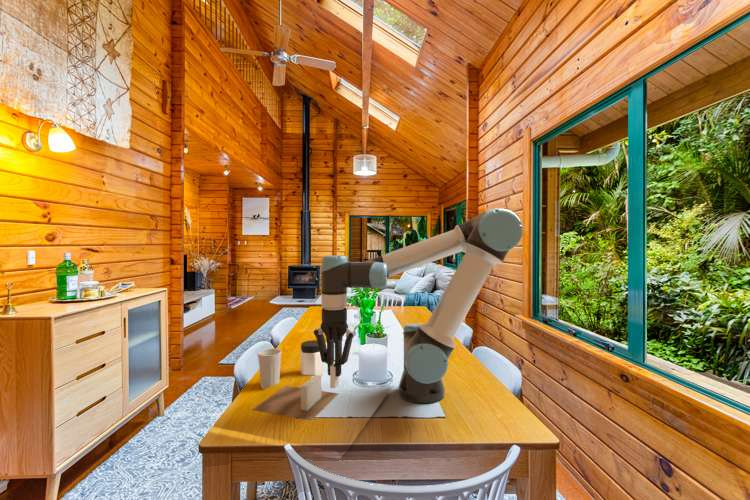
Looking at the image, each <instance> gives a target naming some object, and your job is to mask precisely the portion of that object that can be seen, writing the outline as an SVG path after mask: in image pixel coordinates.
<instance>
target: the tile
mask: <svg viewBox="0 0 750 500" xmlns="http://www.w3.org/2000/svg"><path fill="white" fill-rule="evenodd" d="M300 388H301V410H306V411H307V410H308V409H309V408H311V407H312V406H313V405H314V404H315V403H316V402H317V401H318V400H319V399H320V398H321V391H322V376H319V375H315V376H311V378H310V379H308V380H307V381H305V382H304V383H303V384H301V385H300Z"/></svg>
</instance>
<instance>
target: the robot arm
mask: <svg viewBox="0 0 750 500" xmlns="http://www.w3.org/2000/svg"><path fill="white" fill-rule="evenodd" d="M523 233H524V231H523V225H522V222H521V220H520V217H518V215H517V214H516V213H514V212H513V211H512V210H509V209H506V208H496V207H495V208H491V209H489V210H487V211H484V212H482V213H479V214H476V215H475V216H474V217H472V218H470V219H467V220H466V221H464V222H461V223H459V224H457V225H455V227H454V229H451V230H449V231H448V230H447V231H446V232H443V233H440V234H437V235H435V236H432V237H430V238H426V239H423V240H421V241H418V242H415V243H412V244H409V245H407V246H404V247H401V248H399V249H396V250H393V251H391V252H388V253H387V252H386V253H384V254H382V255H380V256H377V257H373V258H369V259H366V260H364V261H363V262H360V261H359V262H353V261H352V262H351V261H348V259H347V258H348V257H347V256H346V255H325V256H323V257H322V259H321V269H320V274H321V275H320V276H321V277H320V280H321V299H320V300H321V303H320V304H321V324H320V327H319V328H318V327H317V328H316V329H315V330H313V334H314V336H315V338H316V341H317V342H318V347H319V352H320V356H321V361H322V362H324V363H325V364H326V365H327V376H329V377H330V379H329V381H330V384H329V388H331V389H336V388H337V387H338V386H339V382H340V379H339V377H340V376H341V375H342V365H343V366H344V365H345V364H346V363H347V362H348V360H349V356H350V351H351V347H352V342H353V339H354V337H355V336H356V332H355V331H352V330H351V329H349V325H348V308H346V307H347V306H348V297H347V296H348V295H347V293H348V291H347V290H348V288H351V289H352V288H353V289H354V288H358V289H359V288H360V289H363V288H364V289H379V288H380V289H383V288H386V287H387V286H388V278H389V277H393V276H396V275H399V274H402V273H404V272H407V271H409V270H412V269H416V268H419V267H421V266H424V265H427V264H429V263H433V262H435V261H439V260H442V259H444V258H447V257H451V256H453V255H456V254H458V253H461V252H462V253H464V255H463V257H462V258H461V261H460V262H459V264H458V266H457V268H456V270H455V272H454V274H453V275H452V277H451V278H450V281H449V282H448V284H447V286H446V288H445V289H444V292H443V293H442V295H441V297H440V299H439V301H438V303H437V304H436V306H435V308H434V309H433V311H432V313H431V315H430V317H429V318H428V321H427V322H425V323H407V324H405V325H404V326H403V331H402V334H403V371H402V374H401V377H400V379H399V383H398V395H399V396H400V397H401V398H402V399H404V400H406V401H408V402H412V403H416V404H417V403H418V404H431V403H432V404H433V403H436V402H440V401H441V400H442V399H443V398H444V397H445V393H446V390H445V386H444V384H445V383H444V382H443V377H444V376H445V375H446V374H447V370H448V367H449V358H450V357H451V355H452V353H453V351H454V349H455V347H456V343H455V339H454V338H455V336H456V334H457V332H458V331H459V329H460V327H461V325H462V324H463V322H464V321H465V318H466V316H467V314H468V313H469V311H470V309H471V307H472V306H473V304H474V302H475V300H476V299H477V297H478V295H479V293H480V292H481V289H482V287H483V286H484V285H485V283H486V281H487V279H488V277H489V275H490V273H491V271H492V270H493V268H494V266H497V265H499V264H503V261H504V260H505V259H506V256H507V254H508V253H509V251H510V250H513V249H514V248H515V247H516V246H517V245H518V244H519V243H520V241H521V240H522V237H523ZM344 335H345V337H346V338H345V341H344V346H343V344H342V343H343V337H344ZM342 348H343V349H342Z"/></svg>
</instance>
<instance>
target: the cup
mask: <svg viewBox="0 0 750 500" xmlns="http://www.w3.org/2000/svg"><path fill="white" fill-rule="evenodd" d="M257 358H258V359H257V360H258V365H259V377H260V378H259V379H260V388H261V389H262V390H267V389H268V388H270V387H271V386H272V387H273V386H276V385H278V384H279V383H280V379H281V377H280V376H281V375H280V374H281V361H282V350H281V349H279V348H265V349H261V350H259V351H258V352H257Z"/></svg>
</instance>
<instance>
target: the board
mask: <svg viewBox="0 0 750 500" xmlns="http://www.w3.org/2000/svg"><path fill="white" fill-rule="evenodd" d="M338 395H339V393H338V392H337V393H336V392H330V391H325V390H324V391H323V390H321V398H320V399H319V400H318V401H317V402H316V403H315V404H314V405H313V406H312V407H311V408H309V409H308V410H307V411H306V410H301V387H296V386H290V385H285V386H284V387H282V388H281V389H278V391H276V392H274V393H273V394H272V395H271V396H269V397H268V398H266V399H264V401H262V402H260V403H259V404H257V405H256V406H254V407H253V408H251V410H252V411H256V412H262V413H268V414H273V415H278V416H279V415H280V416H284V417H291V418H296V419H301V420H307V421H313V420H314V419H315V418H316V417H317V416H318V415H319V413H321V412H322V411H323V410H324V409H325V408H326V406H328V405H329V404H330V403H331V402H332V401H333V400H334V399H335V398H336V397H337V396H338Z"/></svg>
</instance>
